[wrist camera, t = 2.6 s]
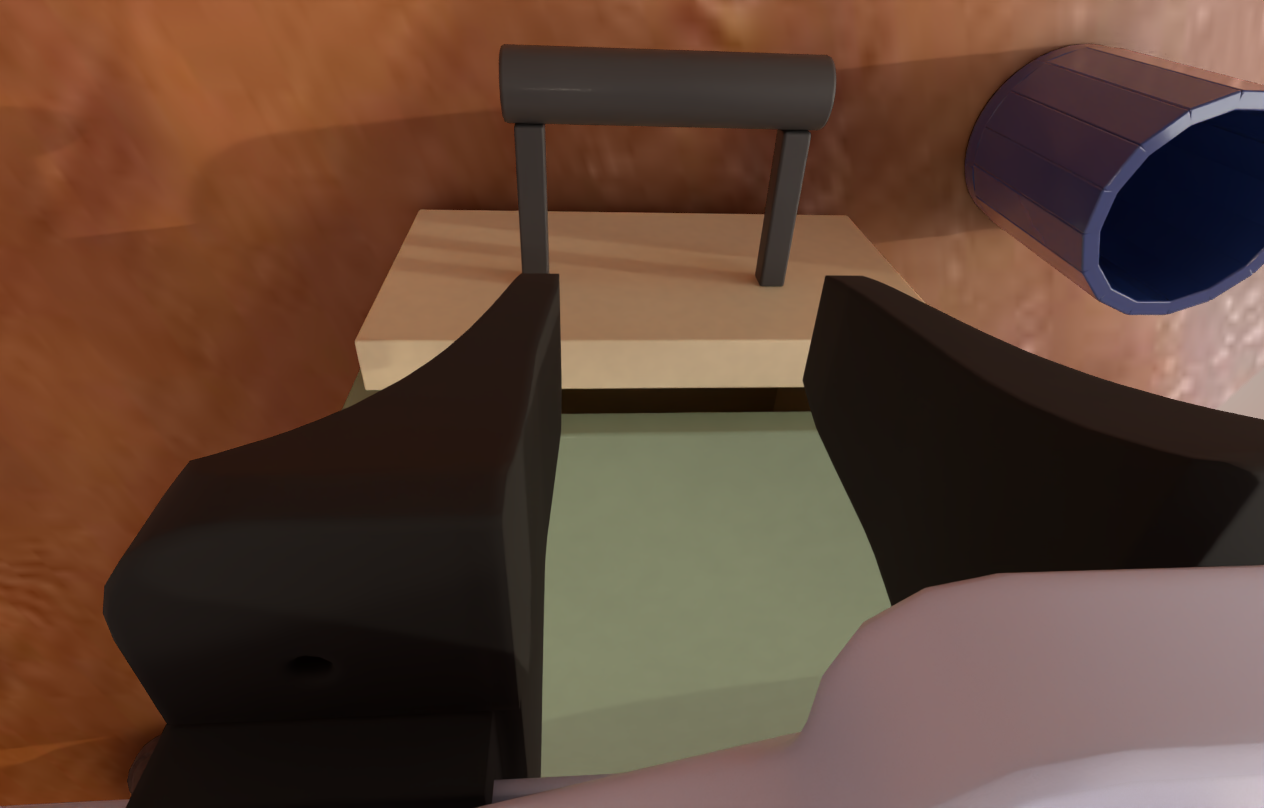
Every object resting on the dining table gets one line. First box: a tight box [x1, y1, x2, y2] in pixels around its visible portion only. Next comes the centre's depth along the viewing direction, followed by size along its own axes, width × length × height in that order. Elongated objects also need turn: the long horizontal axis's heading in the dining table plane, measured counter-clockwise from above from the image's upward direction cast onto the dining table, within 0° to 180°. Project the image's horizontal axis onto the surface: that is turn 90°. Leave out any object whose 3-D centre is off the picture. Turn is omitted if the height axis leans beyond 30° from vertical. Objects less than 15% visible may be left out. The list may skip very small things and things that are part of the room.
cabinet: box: [342, 369, 892, 777], centre depth 22 cm, size 15×14×9 cm
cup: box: [965, 44, 1264, 315], centre depth 18 cm, size 5×5×6 cm
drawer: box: [355, 44, 925, 414], centre depth 20 cm, size 18×12×7 cm
